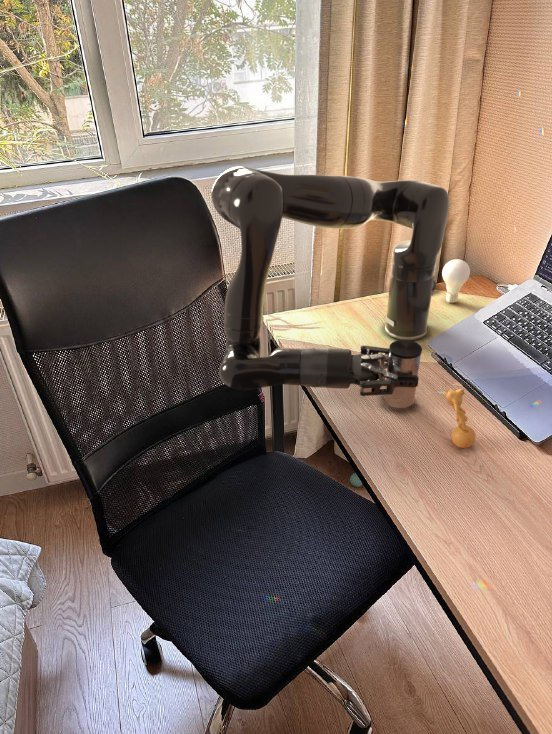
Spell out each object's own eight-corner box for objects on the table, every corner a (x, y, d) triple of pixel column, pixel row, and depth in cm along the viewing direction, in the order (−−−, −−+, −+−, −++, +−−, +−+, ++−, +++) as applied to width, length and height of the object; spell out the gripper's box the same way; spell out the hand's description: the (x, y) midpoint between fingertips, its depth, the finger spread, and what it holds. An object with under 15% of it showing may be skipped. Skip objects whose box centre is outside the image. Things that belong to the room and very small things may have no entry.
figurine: (478, 461, 99) (491, 404, 92) (441, 460, 99) (452, 403, 92) (468, 430, 105) (480, 375, 98) (434, 429, 106) (443, 374, 99)
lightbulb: (469, 301, 145) (476, 259, 139) (456, 310, 141) (464, 267, 135) (445, 294, 149) (452, 253, 142) (433, 303, 145) (439, 261, 139)
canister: (383, 389, 115) (388, 339, 108) (413, 391, 114) (420, 340, 107) (384, 407, 111) (389, 355, 104) (415, 409, 110) (423, 356, 103)
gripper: (324, 372, 103) (422, 376, 100) (327, 331, 114) (416, 334, 112) (323, 406, 107) (417, 411, 105) (326, 364, 119) (411, 367, 116)
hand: (416, 371), depth 108 cm, fingers closed on canister, 5 cm apart
